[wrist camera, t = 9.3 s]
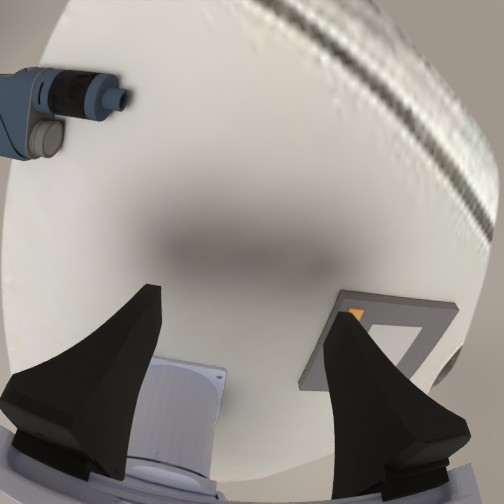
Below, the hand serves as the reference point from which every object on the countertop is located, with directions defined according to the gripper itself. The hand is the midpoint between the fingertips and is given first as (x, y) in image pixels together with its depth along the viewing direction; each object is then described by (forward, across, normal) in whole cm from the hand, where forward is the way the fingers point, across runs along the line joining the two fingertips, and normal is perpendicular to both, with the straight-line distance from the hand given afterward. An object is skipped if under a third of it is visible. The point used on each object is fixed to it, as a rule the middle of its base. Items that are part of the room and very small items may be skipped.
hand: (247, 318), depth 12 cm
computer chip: (+6, -11, +7) cm, 14 cm away
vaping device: (+4, +19, -8) cm, 21 cm away
